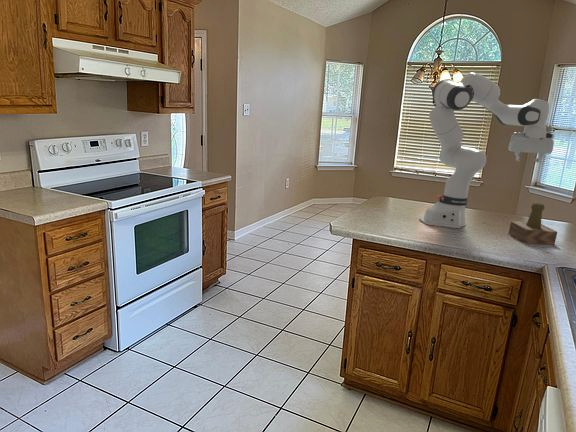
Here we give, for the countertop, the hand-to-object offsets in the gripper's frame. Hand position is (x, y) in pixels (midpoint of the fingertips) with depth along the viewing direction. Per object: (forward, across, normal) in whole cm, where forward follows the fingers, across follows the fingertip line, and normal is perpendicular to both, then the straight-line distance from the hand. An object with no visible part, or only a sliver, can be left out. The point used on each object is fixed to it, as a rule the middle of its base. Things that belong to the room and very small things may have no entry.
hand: (527, 161), depth 209 cm
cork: (+28, -2, -20) cm, 35 cm away
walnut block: (+34, -2, -21) cm, 40 cm away
